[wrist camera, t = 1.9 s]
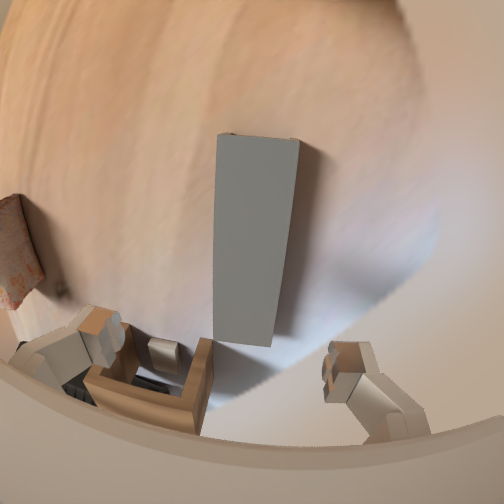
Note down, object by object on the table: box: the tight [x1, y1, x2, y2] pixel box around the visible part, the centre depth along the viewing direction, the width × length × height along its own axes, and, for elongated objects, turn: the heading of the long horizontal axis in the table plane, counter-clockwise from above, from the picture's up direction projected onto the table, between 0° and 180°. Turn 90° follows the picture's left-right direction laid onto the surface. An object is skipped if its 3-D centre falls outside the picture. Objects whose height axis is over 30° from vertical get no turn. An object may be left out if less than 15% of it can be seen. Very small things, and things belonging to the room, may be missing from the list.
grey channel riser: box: [213, 133, 300, 347], centre depth 25 cm, size 20×6×3 cm, turn 176°
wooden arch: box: [83, 322, 213, 436], centre depth 30 cm, size 8×12×10 cm, turn 86°
